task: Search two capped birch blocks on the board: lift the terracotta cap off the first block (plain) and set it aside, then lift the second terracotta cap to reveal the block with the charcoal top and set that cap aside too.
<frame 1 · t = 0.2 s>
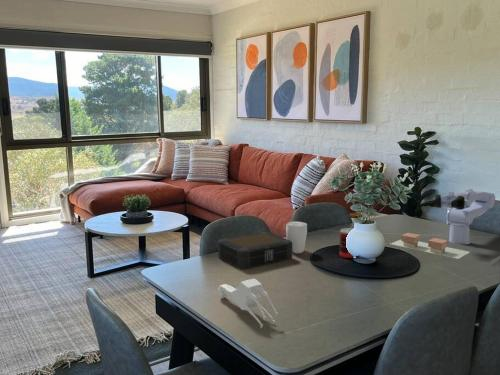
hand: (442, 203, 197), 21 cm above the table, tool horizontal, fingers open, 7 cm apart
cap marked: (410, 241, 207), point 3 cm above the table, touching marked block
marked block: (410, 245, 208), point 1 cm above the table, touching board, cap marked
cup: (296, 251, 204), on the table
canned food: (348, 256, 197), on the table
plain block: (437, 251, 199), point 1 cm above the table, touching board, cap plain
cap plain: (437, 246, 199), point 3 cm above the table, touching plain block
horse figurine: (244, 312, 144), on the table
cash box: (255, 259, 195), on the table
board: (428, 250, 205), on the table
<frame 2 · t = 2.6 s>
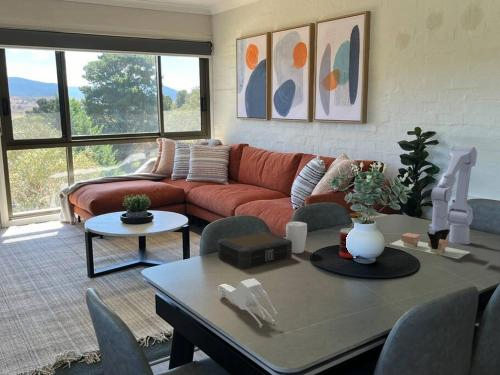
hand: (437, 247, 199), 3 cm above the table, tool pointing down, fingers closed on cap plain, 6 cm apart
cap plain: (437, 246, 199), point 3 cm above the table, touching gripper, plain block
when the fingers open (2 cm above the table, at t = 6.7 s): cap plain drops 1 cm, resting on board.
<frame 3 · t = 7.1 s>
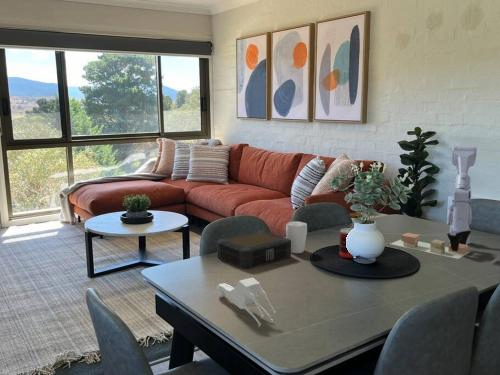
hand: (458, 248, 200), 2 cm above the table, tool pointing down, fingers open, 7 cm apart
plain block: (437, 251, 199), point 1 cm above the table, touching board
cap plain: (458, 251, 200), point 1 cm above the table, touching board
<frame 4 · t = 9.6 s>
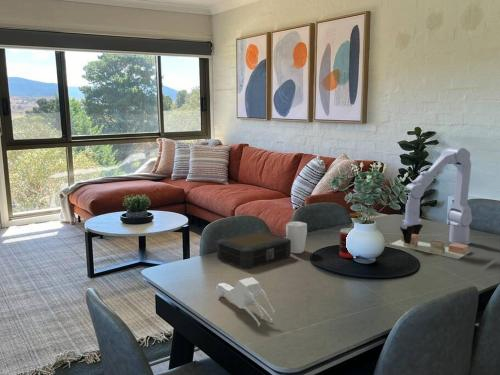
hand: (410, 241, 207), 3 cm above the table, tool pointing down, fingers closed on cap marked, 6 cm apart
cap marked: (410, 241, 207), point 3 cm above the table, touching gripper, marked block
when the fingers open (2 cm above the table, at t = 13.7 s): cap marked drops 1 cm, resting on board.
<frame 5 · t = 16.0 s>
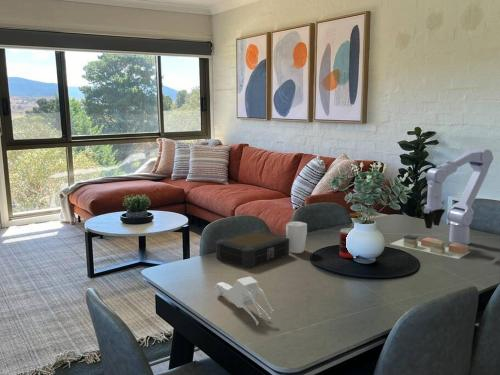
hand: (432, 226, 207), 9 cm above the table, tool pointing down, fingers open, 7 cm apart
cap marked: (430, 245, 208), point 1 cm above the table, touching board
marked block: (410, 245, 208), point 1 cm above the table, touching board
at the end: cap marked 0.0 cm from the target spot, point 1.0 cm above the table; cap plain 0.0 cm from the target spot, point 1.0 cm above the table; marked block moved 0.0 cm from its start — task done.
